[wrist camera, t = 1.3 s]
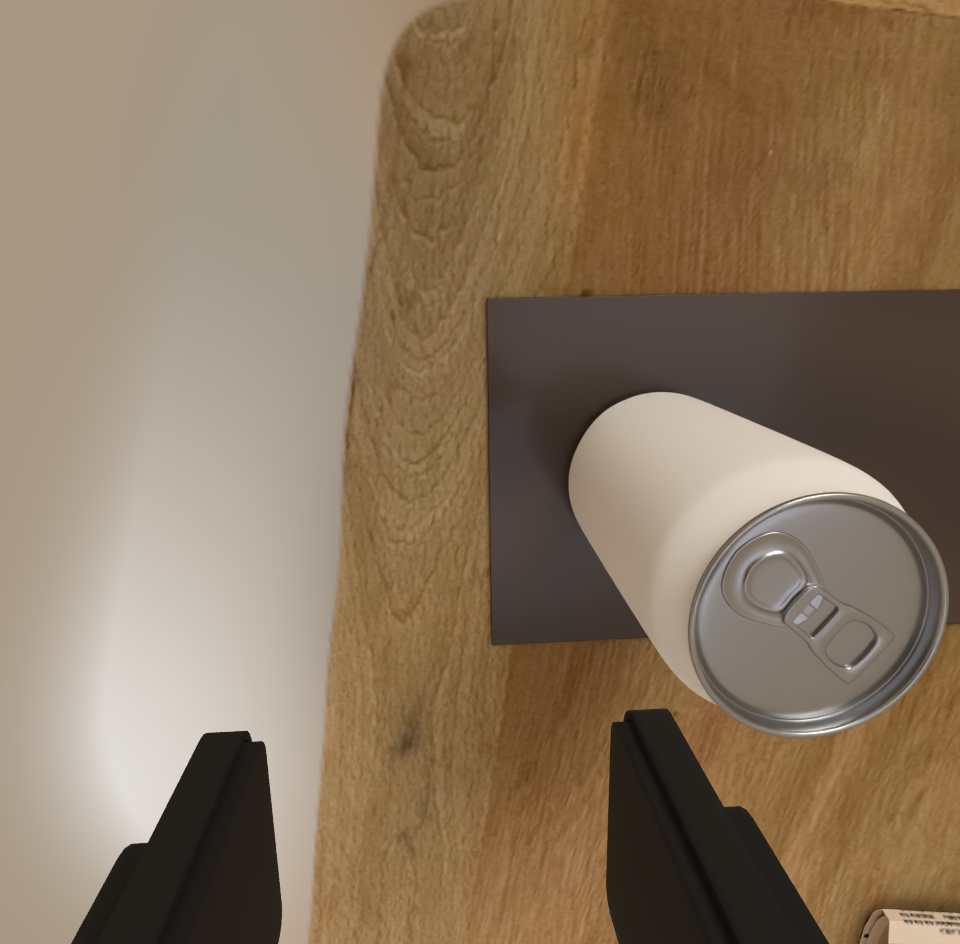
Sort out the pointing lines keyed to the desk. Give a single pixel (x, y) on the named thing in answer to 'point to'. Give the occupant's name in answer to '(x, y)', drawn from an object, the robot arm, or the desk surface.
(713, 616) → the can
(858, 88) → the desk surface
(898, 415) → the runner
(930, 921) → the newspaper
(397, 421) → the desk surface
